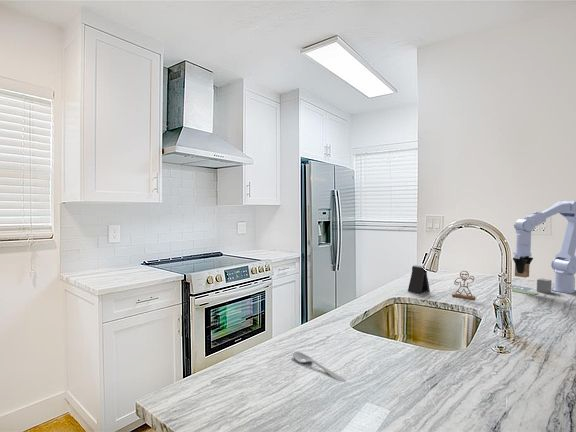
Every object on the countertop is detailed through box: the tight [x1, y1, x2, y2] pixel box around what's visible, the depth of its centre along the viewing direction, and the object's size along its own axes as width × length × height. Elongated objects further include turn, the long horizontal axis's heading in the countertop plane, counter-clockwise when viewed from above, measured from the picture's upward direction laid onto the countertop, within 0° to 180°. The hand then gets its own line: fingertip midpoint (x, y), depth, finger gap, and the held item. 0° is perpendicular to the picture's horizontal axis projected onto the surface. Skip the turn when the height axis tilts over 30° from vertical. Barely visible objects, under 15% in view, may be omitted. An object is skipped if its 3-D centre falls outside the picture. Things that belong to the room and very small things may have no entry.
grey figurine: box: [451, 270, 476, 301], centre depth 160 cm, size 9×4×12 cm, turn 52°
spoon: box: [292, 351, 347, 383], centre depth 89 cm, size 4×21×2 cm, turn 40°
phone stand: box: [407, 265, 431, 295], centre depth 170 cm, size 9×6×12 cm, turn 127°
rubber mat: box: [511, 288, 540, 296], centre depth 171 cm, size 6×12×1 cm, turn 37°
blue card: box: [511, 284, 534, 291], centre depth 179 cm, size 9×9×1 cm
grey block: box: [536, 278, 552, 294], centre depth 172 cm, size 4×4×6 cm
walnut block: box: [514, 263, 531, 279], centre depth 171 cm, size 4×4×6 cm
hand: (522, 272), depth 171 cm, fingers closed on walnut block, 4 cm apart
